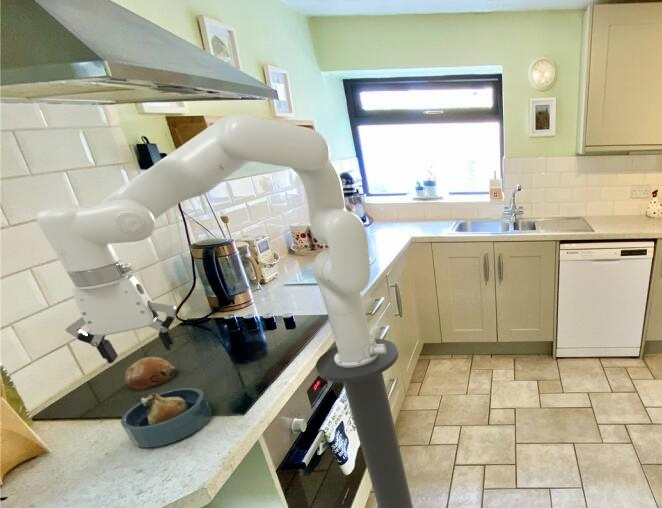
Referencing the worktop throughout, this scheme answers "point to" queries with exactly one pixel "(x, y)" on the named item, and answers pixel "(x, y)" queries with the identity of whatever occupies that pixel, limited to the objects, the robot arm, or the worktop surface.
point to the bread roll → (149, 373)
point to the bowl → (170, 429)
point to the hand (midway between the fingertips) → (142, 353)
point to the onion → (163, 408)
